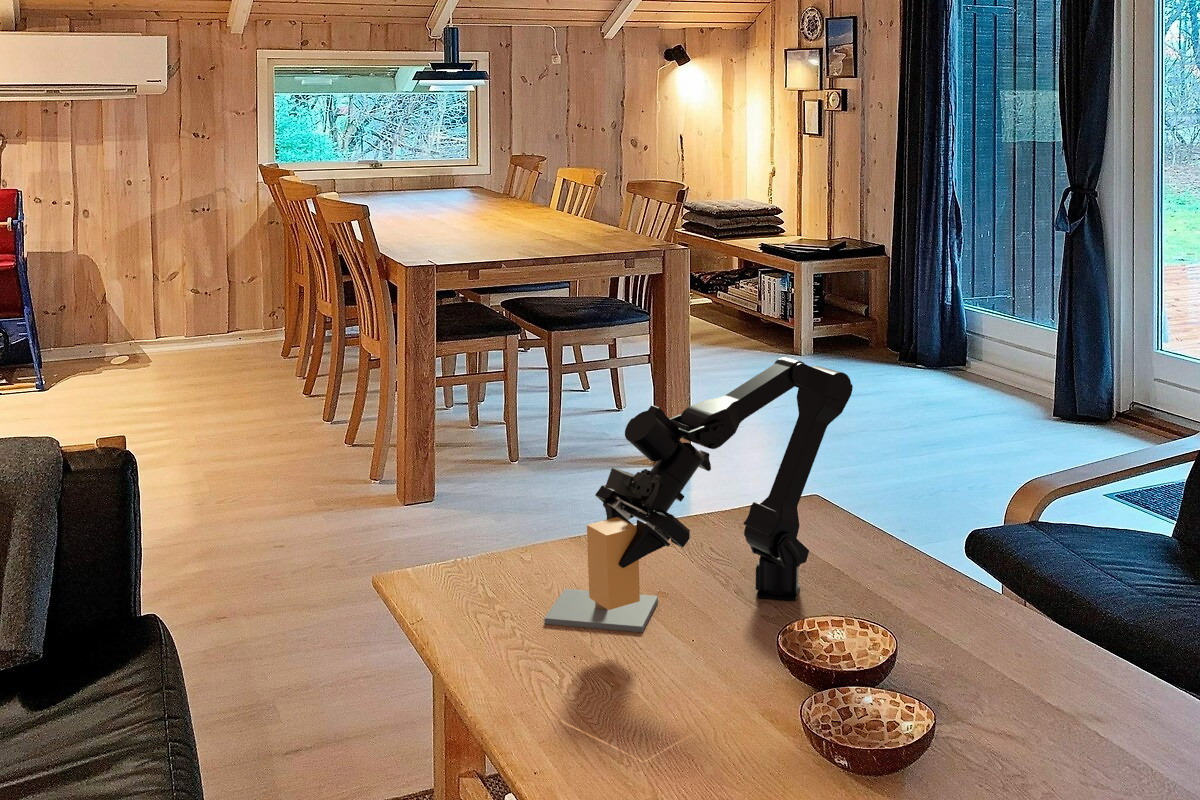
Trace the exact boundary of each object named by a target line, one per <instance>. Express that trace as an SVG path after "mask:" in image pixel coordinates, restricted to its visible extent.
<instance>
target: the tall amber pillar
mask: <svg viewBox="0 0 1200 800" xmlns="http://www.w3.org/2000/svg"><path fill="white" fill-rule="evenodd" d="M632 524H633V523H632ZM632 524H630V523H629V522H627V521H625V520H623V519H621V518H619V517H616V518H612V519H608V520H607V519H604V520H600V521H597V522H593V523H588V524H586V540H587V542H586V543H587V565H588V566H587V568H588V591H589V598H590V599H592V600H594V601H595V602H597V603H598V604H600V605H601V606H603V607H605V608H606V609H608V610H611V609H615V608H618V607H622V606H625V605H628V604H632V603H635V602H639V601H640V595H641V593H640V559H639V560H637V561H635V562H634V563H632V564H630V565H628V566H627V567H625V568H622V567H621V566H619V561H620V559H621V557H622V556H623V554H624V552H625V551H626V549H627V547H628V546H629V544H630V542H631V541H632V539H633V538H634V536H635V534H636V528H637V525H635V524H633V525H632Z"/></svg>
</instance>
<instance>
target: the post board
mask: <svg viewBox="0 0 1200 800" xmlns="http://www.w3.org/2000/svg"><path fill="white" fill-rule="evenodd" d="M658 602H659V596H658V595H648V594H640V601H639V602H635V603H632V604H628V605H625V606H622V607H618V608H615V609H611V610H608V609H606V608H605V607H603V606H601V605H600V604H598V603H597V602H595V601H594V600H592V599H590V598H589V589H588V590H586V589H574V588H563V590H562V592H561V593H560V595H558V598H557V599H556V601H555V602H554V603H553V605H552V606H551V608H550V609H549V611H548V612H547V613H546V615H545V616H544V619H543V621H544V625H550V626H551V625H553V626H561V627H562V626H563V627H564V626H566V627H575V628H585V629H599V630H609V631H622V632H631V633H632V632H633V633H643V632H644V630H645V628H646V626H647V624H648V622H649V620H650V618H651V616H652V614H653V612H654V610H655V608H656V606H657V605H658Z"/></svg>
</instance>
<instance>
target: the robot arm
mask: <svg viewBox="0 0 1200 800" xmlns="http://www.w3.org/2000/svg"><path fill="white" fill-rule="evenodd" d="M793 388H798V389H797V393H796V402H797V410H798V416H797V420H796V422H795V425H794V428H793V430H792V432H791V433H792V434H791V435H790V439H789V441H788V443H787V446H786V449H785V452H784V454H783V457H782V460H781V462H780V465H779V468H778V470H777V472H776V473H777V474H776V475H775V479H774V481H773V484H772V487H771V489H770V491H769V495H768V496H767V497H766V498H765V499H764V500H762V501H761V502H760V503H758V502H755V501H753V502H752V504H751V505H750V509H749V511H748V515H747V517H746V519H745V520H744V522H743V525H744V526H745V527H744V530H743V536H744V537H745V540H746V542H747V544H748V545H749V546H750V549H751V552H752V554H755V555H758V556H760V557H759V561H758V562H757V563H756V566H755V590H756V591H757V594H756V597H757V598H760V599H769V600H770V599H771V600H772V599H773V600H784V601H796V600H798V596H799V595H798V594H799V591H800V588H801V587H800V586H801V584H800V582H799V576H800V575H799V573H800V572H799V569H800V568H799V567H800V566H801V565H802V564H804V563H805V564H806V562H807V560H808V557H809V553H810V549H808V547H806V546H805V545H804V543H802V542H801V541H800V540H799V539H798V535H799V529H800V520H799V512H798V506H799V503H800V500H801V497H802V495H803V492H804V490H805V487H806V484H807V481H808V479H809V475H810V473H811V470H812V468H813V465H814V463H815V460H816V458H817V455H818V452H819V449H820V447H821V444H822V440H823V438H824V435H825V433H826V431H827V428H828V426H829V425H830V424H831V423H832V422H834V420H835V419H837V418H838V417H839V416H841V414H842V413H843V412H844V409H845V408H846V406H847V404H848V402H849V400H850V398H851V396H852V394H853V384H852V381H851V379H850V376H849V375H848V374H846V373H845V372H843V371H839V370H835V369H831V368H827V367H825V366H820V365H812V366H810V365H807V364H806V363H805V362H803V361H802V360H797V359H794V358H791V357H785V356H784V357H780V358H777V359H776V361H775V362H774V364H772V365H771V366H769V367H768V368H765V369H764V370H762V371H761V372H760V373H758V374H756V375H755V376H753V377H752V378H750V379H748V380H747V381H745V382H744V383H742V384H741V385H739V386H738V387H736V388H734V389H733V390H731V391H730V392H728V393H727V394H725V395H723V396H720V397H715V398H710V399H704V400H702V401H700V402H697V403H695V404H692V405H690V406H687V408H685V409H684V410H683V412H682V413H680V414H678V415H675V416H672V417H670V418H669V417H668V415H666V413H665V411H664V410H663V409H661V407H658V406H656V405H653V404H652V405H650V407H649V408H648V409H647V410H645V411H642V412H639V413H638V414H637V415H635V416H634V417H632V418H631V419H630V420H629V421H628V423H627V424H626V427H625V428H624V429H625V430H624V437H625V439H626V440H627V441H628V442H629V443H630V444H631V445H632V446H633V447H635V448H636V449H637V450H638V451H639V452H640V453H641V454H642V455H643V456H644V457H646V458H647V459H648V460H649V461H650V462H655V464H654V465H653V466H652V468H651V469H650V470H649V469H647V468H644V469H642V470H641V471H640V472H639V471H638V472H636V473H635V474H634V473H632V472H629V471H625V470H622V469H618V468H615V467H611V470H610V473H609V474H608V477H607V480H606V483H605V484H602V485H601V486H600V487H599V489H598V490H597V492H596V493H595V494H594V496H595V497H596V498H597V499H598V500H599V501H601V502H602V507H603V508H604V510H605V514H606V520H608V519H612V518H616V517H619V518H621V519H623V520H625V521H627V522H629V523H630V524H632V525H634V523H632V522H631V521H629V520H630V519H632V518H634V517H635V518H636V519H637V520H636V527H637V528H636V534H635V536H634V538H633V539H632V541H631V542H630V544H629V546H628V547H627V549H626V551H625V552H624V554H623V556H622V557H621V559H620V561H619V566H621V567H622V568H625V567H627V566H628V565H630V564H632V563H634V562H635V561H637V560H639V561H640V559H643V558H644V557H646V556H648V555H650V554H651V553H653V552H655V551H658V550H661V549H663V548H665V547H667V548H668V547H670V546H671V543H673V544H674V545H676V546H678V547H679V548H682V549H684V548H685V547H686V545H687V544H688V542H689V541H690V539H691V530H690V529H689V528H688V527H687V526H685V524H683V523H682V522H681V521H680V520H679V519H678V518H677V517H675V515H673V514H671V513H669V512H668V511H669V510H670V508H671V507H672V506H673V504H674V503H675V501H678V502H680V503H681V502H682V501H683V500H684V498H685V495H684V494H683V493H682V491H683V489H684V488H685V487H686V486H687V484H688V483H689V481H690V480H691V478H692V477H693V475H695V473H696V471H697V470H698V468H700V469H703V470H705V471H707V472H711V470H712V464H711V461H710V453H709V452H707V451H705V450H702V449H701V450H698V449H697V448H696V447H695V446H694V445H693V444H692V443H694V444H696V445H699V446H702V447H704V448H707V449H711V450H716V449H719V448H720V447H722V446H723V445H724V444H725V443H727V441H729V440H730V439H731V438H732V437H733V436H735V434H736V432H737V431H738V428H739V426H740V424H741V423H743V421H744V420H745V419H747V418H749V417H750V416H752V415H754V414H755V413H756V412H758V411H759V410H761V409H763V408H765V406H767V405H768V404H770V403H772V402H773V401H775V400H776V399H778V398H779V397H781V396H782V395H784V394H786V393H787V392H788V391H790V390H792V389H793ZM681 439H683V440H686V441H688V442H683V441H681ZM689 442H692V443H689ZM669 541H670V542H671V543H670V542H669Z"/></svg>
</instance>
